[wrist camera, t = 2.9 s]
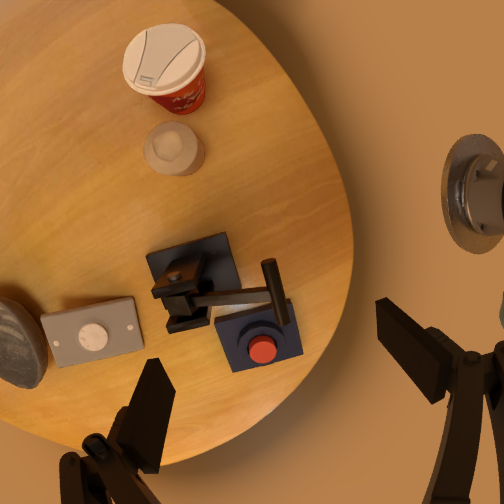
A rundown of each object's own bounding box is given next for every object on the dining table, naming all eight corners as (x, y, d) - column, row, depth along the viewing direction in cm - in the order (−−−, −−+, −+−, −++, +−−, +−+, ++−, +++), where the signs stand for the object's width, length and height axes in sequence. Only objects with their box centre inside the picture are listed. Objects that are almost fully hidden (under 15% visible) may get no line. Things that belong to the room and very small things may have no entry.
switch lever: (279, 254, 25) (271, 265, 22) (293, 314, 26) (287, 329, 24) (169, 270, 29) (155, 280, 27) (187, 320, 31) (176, 331, 29)
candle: (155, 165, 34) (129, 160, 25) (175, 127, 33) (156, 109, 24) (192, 183, 35) (178, 184, 26) (212, 145, 34) (206, 132, 25)
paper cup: (199, 129, 34) (181, 101, 20) (146, 114, 33) (104, 82, 19) (222, 77, 32) (219, 27, 19) (170, 63, 31) (142, 12, 17)
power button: (271, 331, 38) (273, 338, 36) (277, 352, 39) (279, 359, 37) (245, 338, 38) (246, 345, 36) (252, 359, 39) (253, 366, 37)
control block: (289, 298, 40) (294, 308, 37) (301, 348, 42) (306, 361, 39) (214, 318, 40) (213, 330, 37) (232, 366, 42) (232, 380, 39)
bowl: (57, 299, 38) (31, 320, 30) (65, 379, 42) (48, 405, 34) (-11, 271, 35) (-37, 285, 28) (1, 348, 39) (-19, 367, 32)
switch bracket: (225, 231, 37) (222, 254, 26) (241, 287, 39) (246, 329, 28) (147, 253, 37) (116, 283, 26) (167, 306, 39) (146, 351, 28)
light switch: (146, 352, 39) (58, 372, 31) (138, 335, 44) (59, 352, 36) (134, 300, 37) (38, 320, 29) (128, 287, 42) (43, 304, 34)
